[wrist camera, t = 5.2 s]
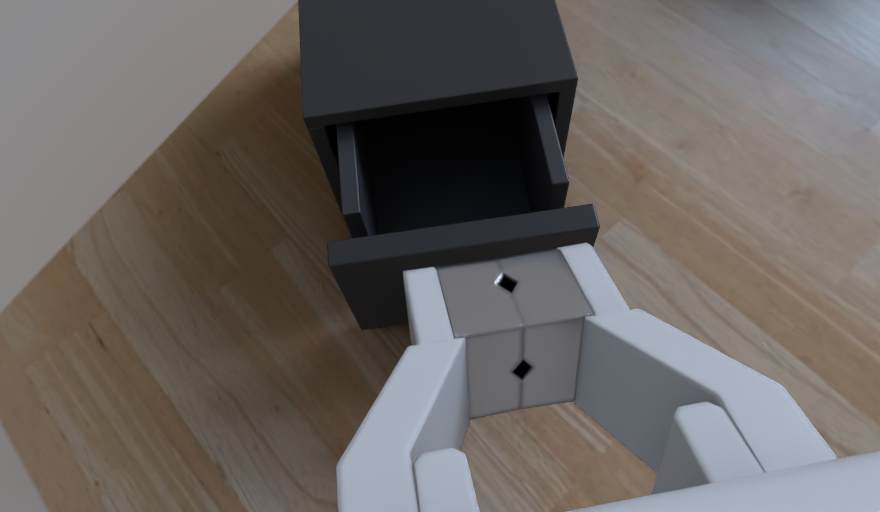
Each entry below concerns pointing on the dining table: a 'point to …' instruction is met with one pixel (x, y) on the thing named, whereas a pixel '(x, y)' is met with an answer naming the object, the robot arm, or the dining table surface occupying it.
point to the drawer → (448, 197)
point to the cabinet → (426, 61)
